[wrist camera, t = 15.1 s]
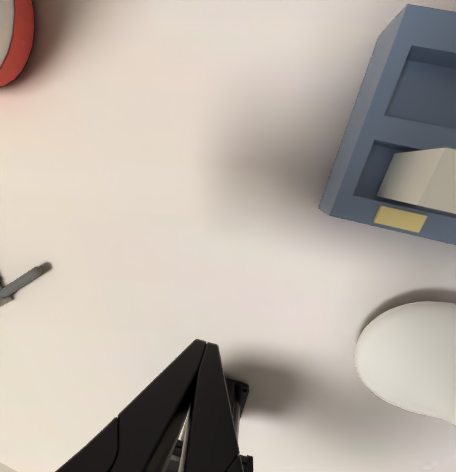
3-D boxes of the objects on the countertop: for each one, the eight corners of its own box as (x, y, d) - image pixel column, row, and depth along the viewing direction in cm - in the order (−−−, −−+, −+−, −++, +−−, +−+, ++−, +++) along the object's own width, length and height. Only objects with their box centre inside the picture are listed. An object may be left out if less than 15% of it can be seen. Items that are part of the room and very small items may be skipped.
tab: (417, 205, 16) (474, 217, 12) (376, 195, 16) (417, 205, 12) (438, 162, 15) (508, 160, 11) (394, 153, 15) (445, 147, 11)
